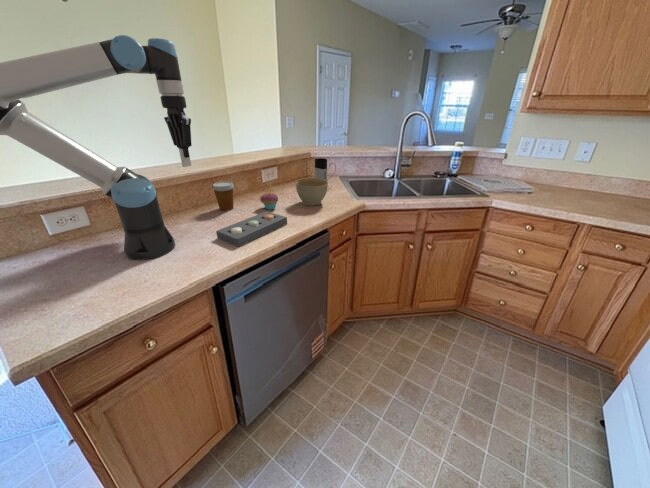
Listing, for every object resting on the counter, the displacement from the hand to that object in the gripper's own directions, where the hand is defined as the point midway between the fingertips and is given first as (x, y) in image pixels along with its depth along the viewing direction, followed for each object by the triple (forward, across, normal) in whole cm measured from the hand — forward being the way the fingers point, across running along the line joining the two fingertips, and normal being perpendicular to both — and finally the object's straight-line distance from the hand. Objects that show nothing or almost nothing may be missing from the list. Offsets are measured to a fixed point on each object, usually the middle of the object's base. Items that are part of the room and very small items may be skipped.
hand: (187, 166), depth 107 cm
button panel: (+24, -22, -10) cm, 34 cm away
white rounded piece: (+24, -22, -1) cm, 33 cm away
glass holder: (+25, -5, -84) cm, 88 cm away
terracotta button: (+24, -22, -19) cm, 38 cm away
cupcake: (+25, -8, -33) cm, 42 cm away
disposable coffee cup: (+25, +8, -20) cm, 33 cm away
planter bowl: (+25, -20, -51) cm, 60 cm away
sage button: (+24, -22, -10) cm, 34 cm away
